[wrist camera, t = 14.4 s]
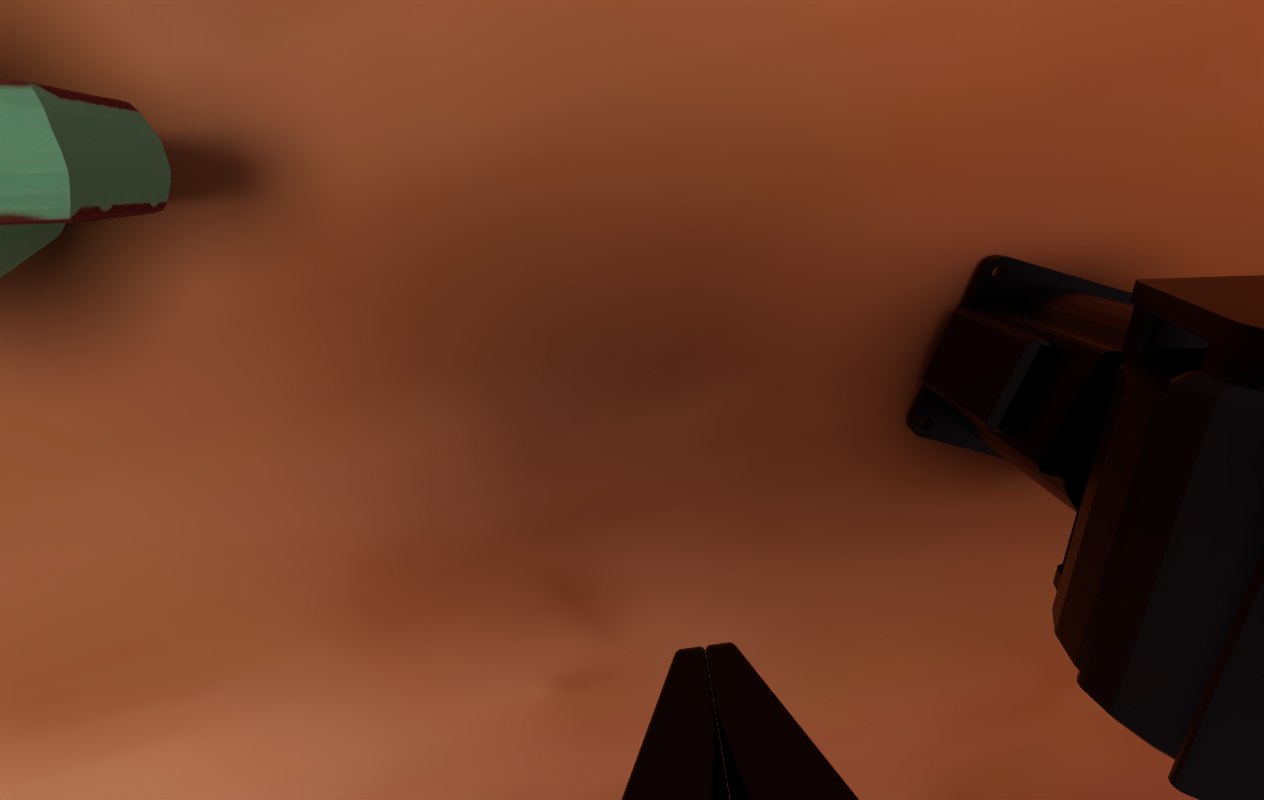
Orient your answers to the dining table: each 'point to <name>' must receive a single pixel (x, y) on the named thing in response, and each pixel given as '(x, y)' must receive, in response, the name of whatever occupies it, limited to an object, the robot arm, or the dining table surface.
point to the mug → (71, 165)
